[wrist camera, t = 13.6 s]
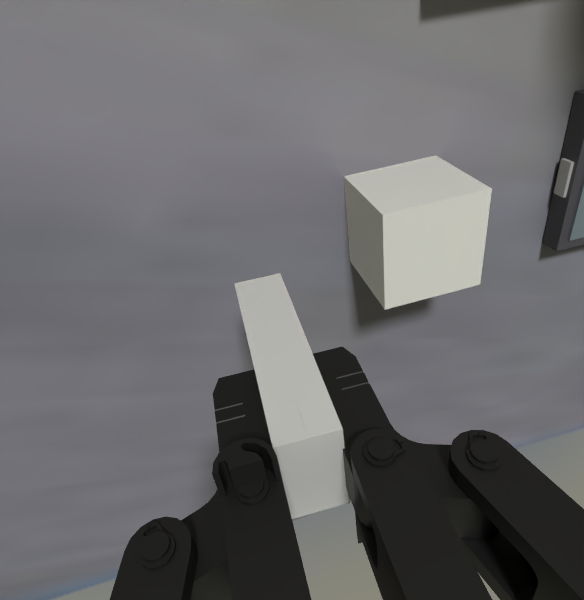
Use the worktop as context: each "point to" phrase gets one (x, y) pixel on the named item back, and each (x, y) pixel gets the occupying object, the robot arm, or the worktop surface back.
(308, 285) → the worktop surface
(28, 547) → the worktop surface
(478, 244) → the white cube
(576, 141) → the phone
